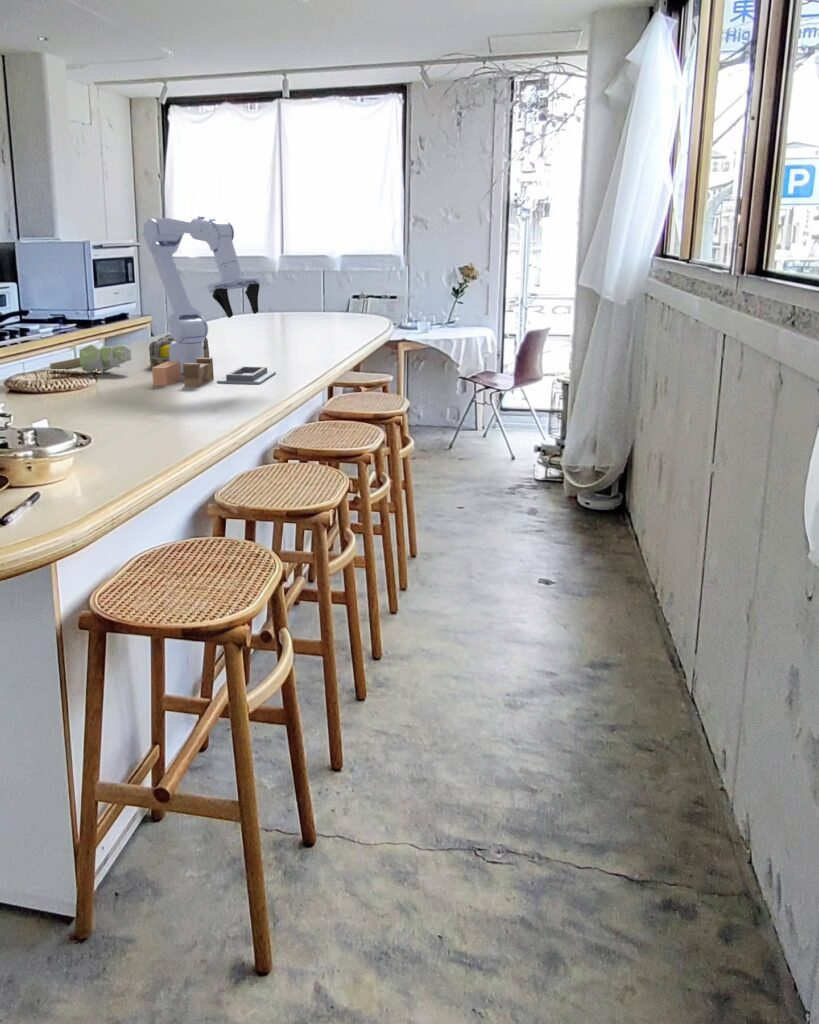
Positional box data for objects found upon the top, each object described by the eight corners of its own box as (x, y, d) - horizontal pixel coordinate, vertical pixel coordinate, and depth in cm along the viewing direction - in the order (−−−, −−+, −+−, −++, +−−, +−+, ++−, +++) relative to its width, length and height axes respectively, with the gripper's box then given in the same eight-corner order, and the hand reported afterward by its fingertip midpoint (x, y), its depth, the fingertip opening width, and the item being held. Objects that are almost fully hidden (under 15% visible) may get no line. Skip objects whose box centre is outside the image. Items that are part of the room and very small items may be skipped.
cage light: (142, 343, 248) (167, 331, 277) (145, 370, 251) (169, 356, 279) (192, 343, 249) (211, 332, 277) (194, 370, 251) (213, 356, 280)
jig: (217, 383, 230) (216, 375, 230) (236, 372, 247) (235, 365, 247) (259, 384, 229) (259, 376, 229) (275, 373, 246) (275, 366, 246)
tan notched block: (198, 387, 225) (197, 364, 223) (184, 387, 225) (182, 363, 223) (213, 380, 236) (212, 357, 234) (200, 379, 237) (198, 357, 235)
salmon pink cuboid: (166, 386, 226) (165, 368, 224) (153, 386, 226) (151, 367, 224) (181, 379, 237) (180, 361, 236) (169, 378, 237) (167, 361, 236)
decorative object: (42, 372, 240) (122, 357, 236) (46, 345, 244) (125, 329, 240) (60, 389, 248) (137, 374, 244) (63, 362, 252) (140, 347, 248)
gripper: (208, 263, 218) (224, 313, 219) (258, 257, 226) (273, 306, 227) (199, 272, 224) (215, 321, 225) (248, 266, 232) (262, 314, 233)
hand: (243, 314), depth 226 cm, fingers open, 7 cm apart
